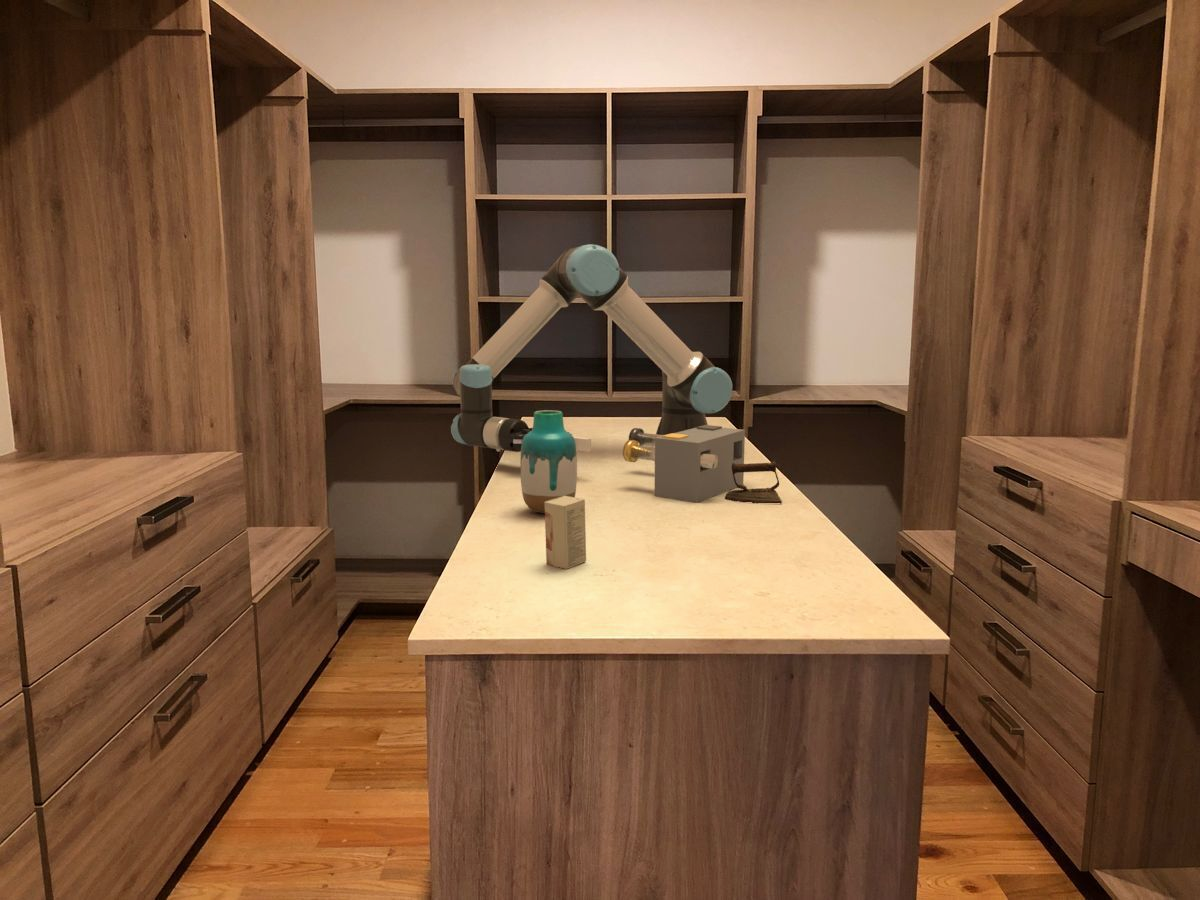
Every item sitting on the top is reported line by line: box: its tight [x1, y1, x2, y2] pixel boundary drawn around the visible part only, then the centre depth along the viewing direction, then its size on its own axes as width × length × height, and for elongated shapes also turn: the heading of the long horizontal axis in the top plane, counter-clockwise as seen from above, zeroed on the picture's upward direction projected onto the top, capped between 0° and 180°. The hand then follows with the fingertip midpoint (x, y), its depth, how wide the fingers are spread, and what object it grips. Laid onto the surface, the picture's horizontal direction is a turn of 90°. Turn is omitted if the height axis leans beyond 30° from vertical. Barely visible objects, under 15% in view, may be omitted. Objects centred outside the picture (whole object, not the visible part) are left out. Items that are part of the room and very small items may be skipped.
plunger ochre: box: [622, 439, 718, 469], centre depth 181 cm, size 5×20×5 cm, turn 54°
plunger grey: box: [628, 427, 663, 447], centre depth 197 cm, size 5×20×5 cm, turn 54°
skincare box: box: [544, 496, 587, 570], centre depth 136 cm, size 5×4×10 cm
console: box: [653, 424, 746, 504], centre depth 185 cm, size 20×10×12 cm, turn 144°
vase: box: [520, 409, 578, 514], centre depth 166 cm, size 11×11×19 cm
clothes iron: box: [724, 460, 782, 504], centre depth 177 cm, size 7×11×10 cm, turn 87°
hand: (588, 445), depth 193 cm, fingers closed
